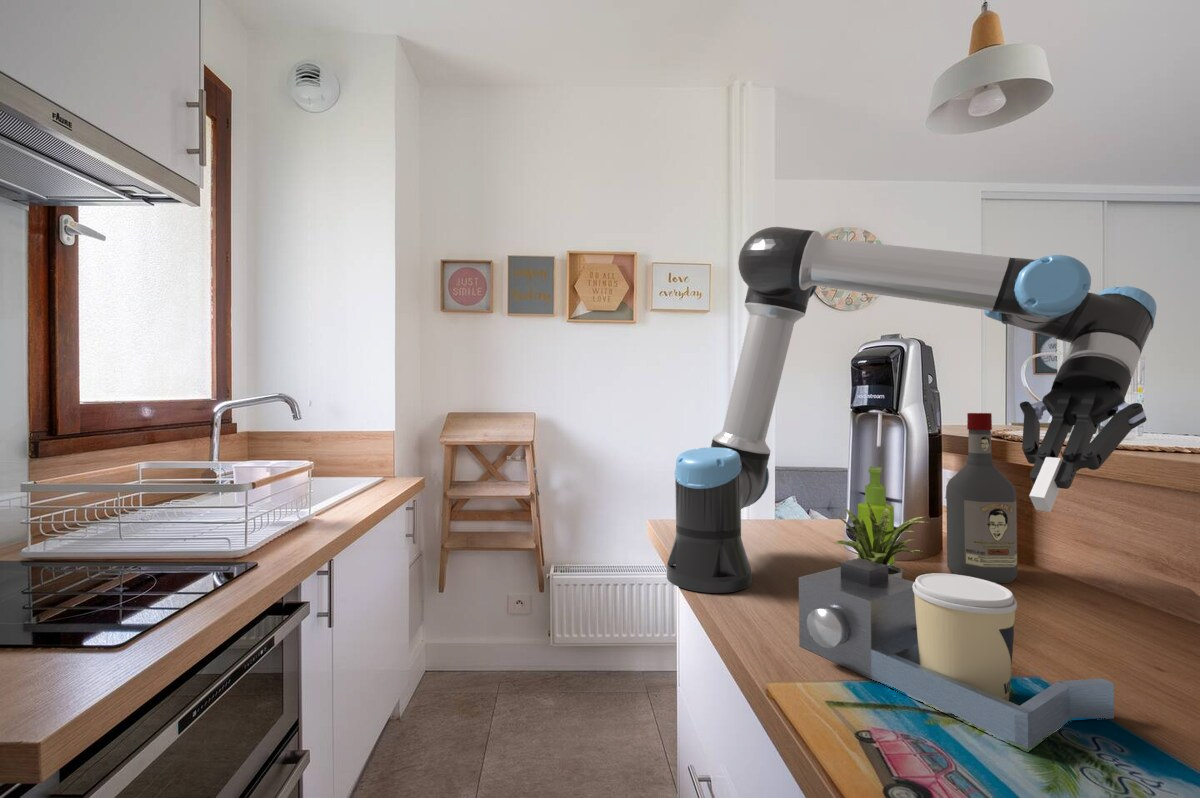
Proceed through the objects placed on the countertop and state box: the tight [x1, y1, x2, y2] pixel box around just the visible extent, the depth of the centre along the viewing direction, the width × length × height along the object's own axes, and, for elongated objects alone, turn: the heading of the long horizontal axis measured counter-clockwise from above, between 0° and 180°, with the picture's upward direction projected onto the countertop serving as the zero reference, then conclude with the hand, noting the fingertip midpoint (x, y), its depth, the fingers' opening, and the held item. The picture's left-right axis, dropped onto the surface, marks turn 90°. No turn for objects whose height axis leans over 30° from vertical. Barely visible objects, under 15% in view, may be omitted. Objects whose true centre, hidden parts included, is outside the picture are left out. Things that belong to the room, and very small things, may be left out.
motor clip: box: [798, 557, 1115, 749], centre depth 61 cm, size 16×27×11 cm, turn 31°
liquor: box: [945, 412, 1018, 584], centre depth 98 cm, size 9×9×30 cm
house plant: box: [834, 502, 930, 579], centre depth 81 cm, size 14×14×16 cm
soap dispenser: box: [857, 466, 895, 566], centre depth 98 cm, size 6×7×20 cm
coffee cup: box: [912, 572, 1018, 702], centre depth 58 cm, size 9×9×12 cm
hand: (1039, 503), depth 65 cm, fingers closed
